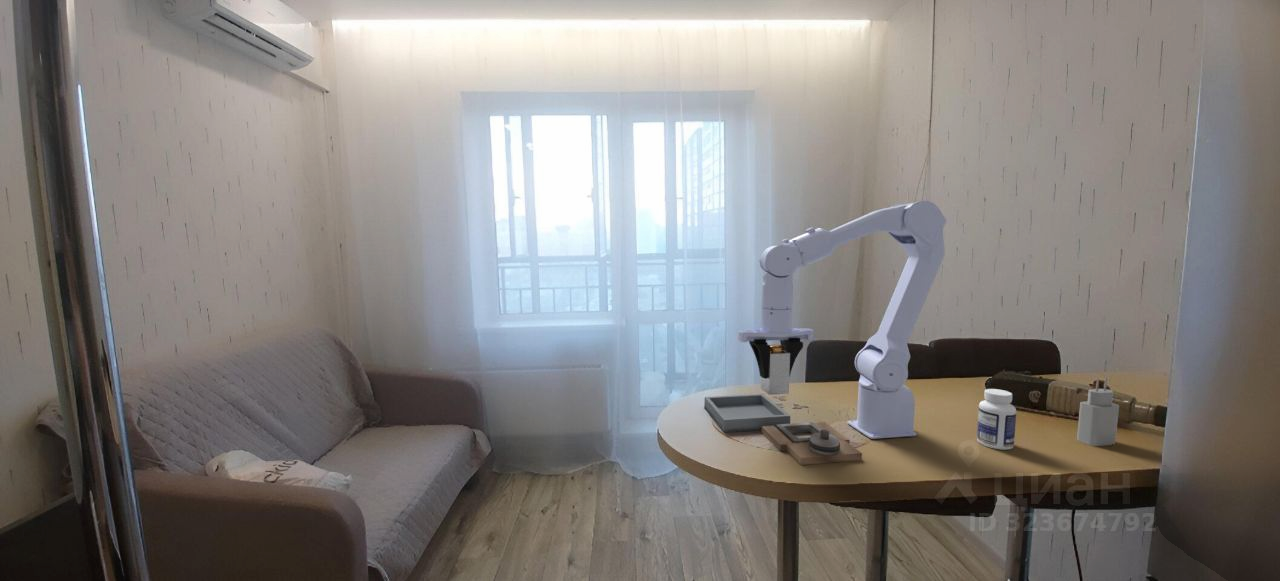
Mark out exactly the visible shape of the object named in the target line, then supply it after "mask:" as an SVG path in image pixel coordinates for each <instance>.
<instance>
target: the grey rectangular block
mask: <svg viewBox="0 0 1280 581" xmlns="http://www.w3.org/2000/svg"><path fill="white" fill-rule="evenodd" d="M769 345H770V346H771V349H770V354H769V360H768V377H767V378H766V379H764V378H762V377H761V376H760V389H761V390H762V391H764V393H765V394H767V395H769V396H773V395H776V396H777V395H789V394H790V377H789V371H790V353H789V352H787V351H785V350H784V346H782V345H781V344H769Z"/></svg>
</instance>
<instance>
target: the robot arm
mask: <svg viewBox="0 0 1280 581" xmlns="http://www.w3.org/2000/svg"><path fill="white" fill-rule="evenodd" d="M946 222H947V219H946V217H945V216H944V213H943V212H942V211H941V209H940V207H939V206H938V205H937V204H936V203H934V202H933V201H929V200H918V201H916V202H910V203H905V204H904V203H900V204H895V205H892V206H891V207H885V208H882V209H881V208H880V209H877V210H874V211H871V212H869V213H867V214H863V215H862V216H860V217H857V218H855V219H854V220H851V221H849V222H847V223H844V224H842V225H840V226H838V227H837V226H836V227H835V228H833V229H831V230H827V229H824V228H821V227H818V228H815V227H809V228H807V229H805V233H803V234H801V235H798V236H796V237H793V238H790V239H789V238H785V239H782V240H781V242H782V244H778V245H772V246H769V247H767V248H765V250H764V251H763V252H762V254H761V255H760V256H761V257H760V259H759V261H758V262H759V266H760V268H761V269H762V270H763V271H762V284H761V311H760V312H761V313H760V314H761V317H760V319H761V320H760V328H753V329H746V330H744V329H742V330H738V341H740V342H741V343H747V342H748V343H749V346H750V347H751V349H752V352H753V354H754V356H755V359H756V363H757V367H758V371H759V377H760V378H761V377H762V378H764V379H766V378H767V377H768V360H769V354H770V349H771V346H770V345H771V344H769V343H768V342H767V341H780V342H779V343H780V345H782V346H784V350H785V351H787V352H789V353H790V371H789V378H790V377H791V373H792V369H793V366H794V364H795V361H796V359H797V358H798V355H799V354H800V352H801V351H802V349H803V348H804V342H803V341H801V340H808V341H811V340H814V329H811V328H808V327H807V328H806V327H805V328H803V327H802V328H800V327H796V328H795V327H793V298H794V297H793V294H794V293H793V291H794V284H793V283H794V282H793V281H794V279H793V277H794V274H793V273H795V271H796V270H797V269H802V268H803V267H806V266H808V265H812V264H814V263H817V262H818V261H821V260H823V259H826V258H828V257H831V256H832V255H833V253H834V252H835V250H836V247H838V246H840V245H844V244H847V243H849V242H852V241H855V240H857V239H860V238H863V237H866V236H868V235H870V234H874V233H876V232H877V233H887V234H888V235H890V237H892V238H893V239H894V240H895V241H897V242H898V244H900V245H901V247H902V248H903V250H904V251H905V253H906V255H907V257H908V258H907V260H906V263H905V264H904V268H903V270H902V272H901V274H900V277H899V279H898V282H897V284H896V286H895V289H894V292H893V294H892V296H891V299H890V301H889V304H888V306H887V308H886V310H885V313H884V315H883V318H882V319H881V322H880V325H879V327H878V330H877V332H876V333H875V334H874V335H872V336H870V337H869V338H868V339H867V342H866V344H865V345H864V347H863V348H861V349H860V350H859V351H858V352H857V354H856V355H855V358H854V367H855V369H856V371H857V372H858V373H859V375H860V376H859V380H858V389H857V390H858V393H857V415H856V416H857V417H856V420H854V419H853V420H847V422H846V423H847V424H848V425H850V427H852V428H854V429H855V430H857V431H858V432H860V433H861V434H862V435H864V436H866V437H868V438H869V439H870V440H873V439H874V440H875V439H890V438H903V437H916V436H917V433H916V432H915V431H914V426H915V407H916V406H915V405H916V404H915V403H916V400H915V396H914V394H913V391H912V390H911V389H910V388H909V387H908V386H906V385H905V384H906V382H907V380H908V377H909V370H908V369H909V368H908V365H909V362H910V359H911V354H910V353H911V352H910V350H909V347H908V343H909V339H910V337H911V335H912V332H913V331H914V328H915V325H916V324H917V321H918V319H919V317H920V314H921V312H922V309H923V307H924V304H925V302H926V300H927V297H928V295H929V293H930V290H931V288H932V286H933V285H934V284H933V283H934V281H935V279H936V276H937V274H938V272H939V270H940V268H941V265H942V263H943V260H944V257H945V255H946V253H945V239H944V227H945V225H946Z"/></svg>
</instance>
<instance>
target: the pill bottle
mask: <svg viewBox="0 0 1280 581" xmlns="http://www.w3.org/2000/svg"><path fill="white" fill-rule="evenodd" d="M983 396H984V399H985V400H981V401H980V402H979V403H978V404H979V405H978V413H977V414H978V415H977V417H978V418H977V430H976V431H977V432H976V439H977V442H978V443H979V444H980V445H982V446H984V447H987V448H991V449H995V450H1003V451H1007V450H1012V449H1014V446H1015V438H1016V436H1015V435H1016V423H1017V420H1016V419H1017V409H1016V407H1015V406H1014V404H1011V403H1012V401H1013V393H1012V392H1010V391H1008V390H1003V389H997V388H986V389H985V390H984V394H983Z"/></svg>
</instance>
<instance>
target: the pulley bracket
mask: <svg viewBox="0 0 1280 581" xmlns="http://www.w3.org/2000/svg"><path fill="white" fill-rule="evenodd" d="M760 432H761V433H762V434H763V436H765V437H766V439H767V440H768V441H770V442H771V444H772V445H773V446H775V447H776V449H778V450H779V451H780V452H787V453H788V454H789V455H790V456H791V457H792V458H793V460H795V461H796V462H797V463H798V464H799V465H814V464H815V465H816V464H826V463H840V462H852V461H853V462H854V461H862V460H863V452H861V451H860V450H859V449H857V448H856V447H855V446H853V445H851V444H850V442H851V440H850V439H849V438H848V437H846V436H845V435H844V434H842V433H841V432H840V431H838V430H837V429H835V428H834V427H833V426H831V425H830V424H829V423H827V422H825V421H823V422H818V421H817V422H813V421H811V422H796V423H795V422H794V423H790V424H778V425H776V428H775V427H774V426H773V425H772V426H761V430H760ZM797 433H798V434H800V433H811V434H810V436H809V437H797V436H795V435H794V434H797Z"/></svg>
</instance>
